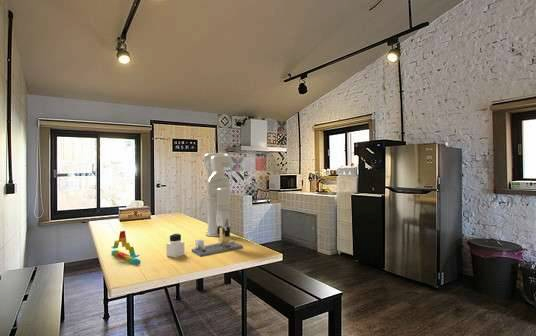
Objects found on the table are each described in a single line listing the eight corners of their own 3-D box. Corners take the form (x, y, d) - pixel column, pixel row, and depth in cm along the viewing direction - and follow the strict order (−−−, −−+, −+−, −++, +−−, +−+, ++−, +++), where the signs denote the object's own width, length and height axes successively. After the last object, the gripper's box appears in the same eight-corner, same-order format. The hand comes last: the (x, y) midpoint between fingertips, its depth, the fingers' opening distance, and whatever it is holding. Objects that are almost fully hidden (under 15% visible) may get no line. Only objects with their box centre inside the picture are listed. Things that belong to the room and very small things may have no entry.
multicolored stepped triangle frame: (140, 263, 159) (140, 234, 159) (134, 265, 156) (134, 236, 156) (117, 252, 179) (116, 227, 179) (111, 254, 177) (111, 228, 177)
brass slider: (218, 243, 189) (218, 227, 189) (225, 242, 192) (225, 226, 192) (225, 246, 182) (224, 229, 182) (232, 245, 185) (232, 228, 185)
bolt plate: (191, 251, 178) (191, 240, 178) (232, 243, 195) (232, 233, 195) (200, 256, 169) (200, 244, 169) (242, 247, 186) (242, 237, 186)
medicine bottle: (184, 254, 173) (184, 233, 173) (175, 257, 167) (174, 236, 167) (176, 252, 177) (175, 232, 177) (166, 256, 170) (166, 234, 170)
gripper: (211, 206, 193) (211, 233, 193) (224, 209, 179) (225, 238, 179) (222, 205, 197) (222, 232, 198) (235, 208, 184) (235, 236, 184)
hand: (223, 235), depth 188 cm, fingers open, 9 cm apart
